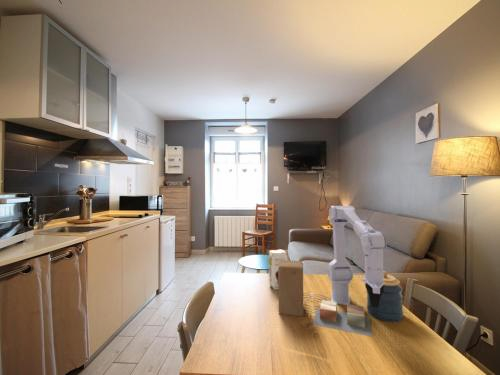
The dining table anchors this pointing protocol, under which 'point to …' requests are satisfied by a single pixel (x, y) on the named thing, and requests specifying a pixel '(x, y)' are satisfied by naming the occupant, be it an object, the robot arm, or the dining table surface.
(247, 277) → the dining table surface
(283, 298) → the wooden block
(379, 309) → the canister
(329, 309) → the ash block
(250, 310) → the dining table surface
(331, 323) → the felt mat
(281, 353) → the dining table surface
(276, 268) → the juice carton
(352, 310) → the walnut block
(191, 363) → the dining table surface
